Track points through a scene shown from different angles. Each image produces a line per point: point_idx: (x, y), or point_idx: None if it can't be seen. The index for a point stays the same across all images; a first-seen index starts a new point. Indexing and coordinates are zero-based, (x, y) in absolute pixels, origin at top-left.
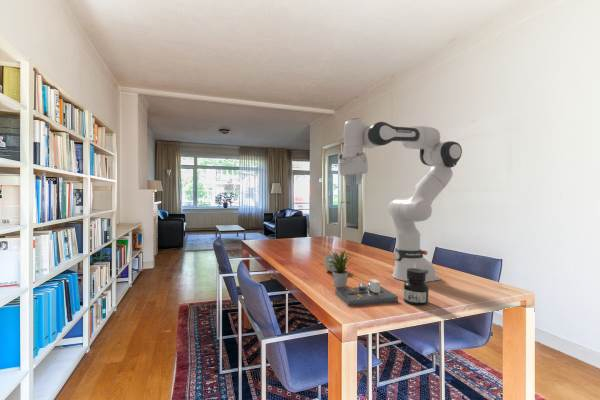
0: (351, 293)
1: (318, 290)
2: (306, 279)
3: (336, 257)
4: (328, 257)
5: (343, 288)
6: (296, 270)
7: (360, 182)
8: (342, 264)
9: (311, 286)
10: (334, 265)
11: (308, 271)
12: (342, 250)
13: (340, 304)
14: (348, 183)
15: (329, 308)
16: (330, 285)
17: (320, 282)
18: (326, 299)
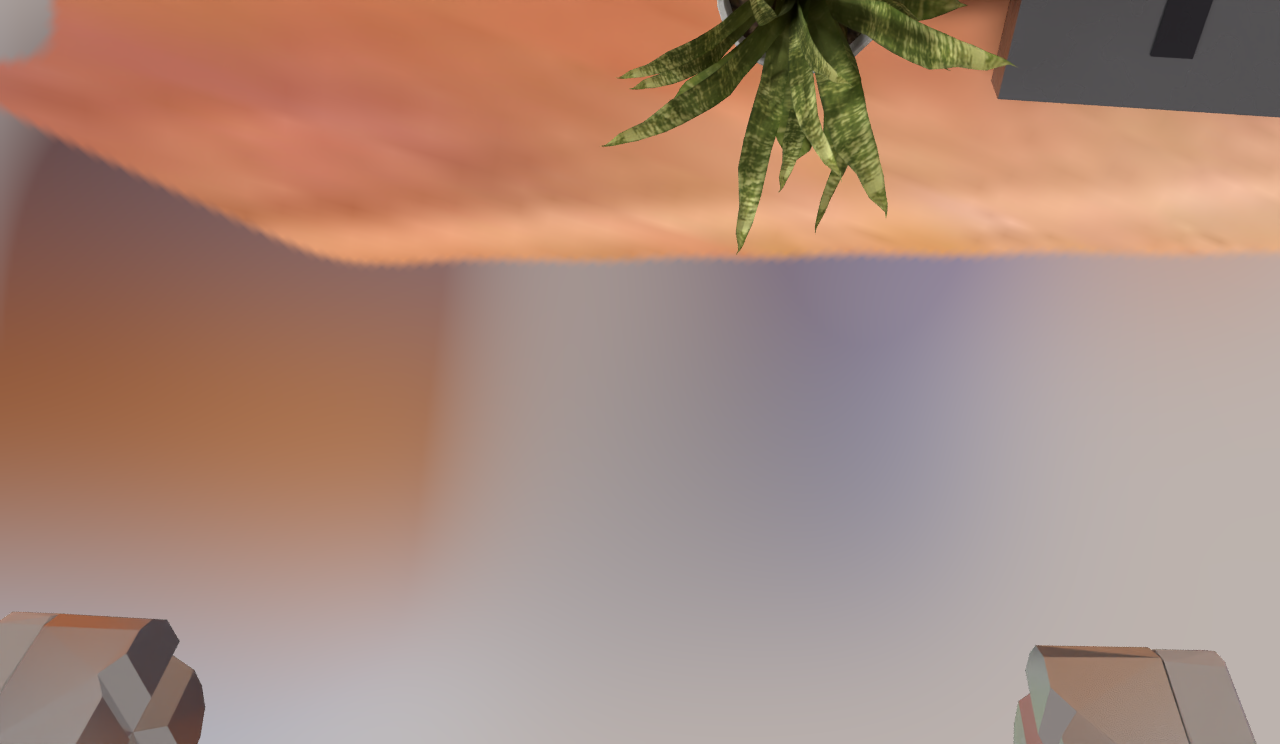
0: (1188, 24)
1: None
2: (533, 168)
3: (704, 53)
4: None
5: (1024, 27)
6: (215, 162)
7: (1243, 724)
8: (863, 27)
9: None
10: (724, 48)
11: (254, 64)
12: (843, 81)
13: (1228, 140)
14: (161, 721)
15: (1248, 238)
16: None
17: None
18: (1080, 193)
